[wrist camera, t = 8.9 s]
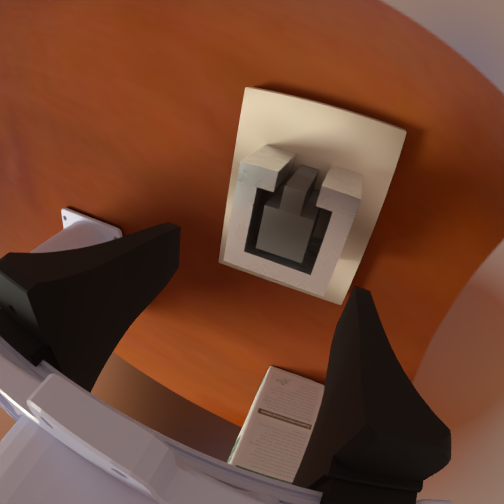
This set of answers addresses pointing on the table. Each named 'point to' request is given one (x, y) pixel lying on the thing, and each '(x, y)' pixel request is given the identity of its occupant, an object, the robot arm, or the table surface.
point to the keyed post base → (314, 176)
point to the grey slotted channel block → (251, 211)
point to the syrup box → (278, 426)
